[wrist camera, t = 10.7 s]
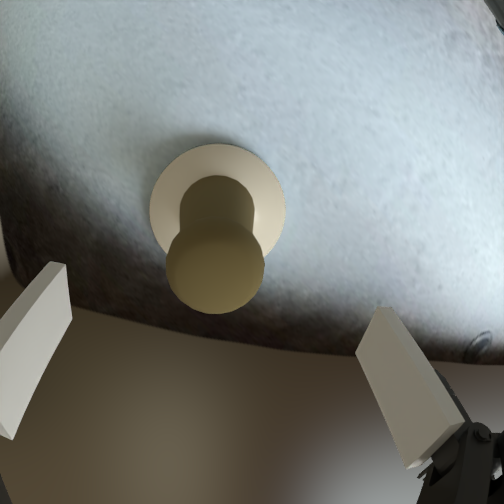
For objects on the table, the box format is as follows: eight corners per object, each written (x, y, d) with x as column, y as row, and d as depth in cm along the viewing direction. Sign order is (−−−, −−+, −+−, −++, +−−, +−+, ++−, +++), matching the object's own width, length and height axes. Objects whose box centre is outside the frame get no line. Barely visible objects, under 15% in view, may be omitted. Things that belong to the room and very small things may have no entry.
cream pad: (161, 134, 23) (157, 136, 22) (295, 156, 25) (299, 159, 24) (148, 258, 28) (145, 265, 26) (267, 274, 30) (269, 282, 28)
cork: (270, 216, 26) (301, 286, 16) (213, 260, 27) (211, 349, 17) (221, 159, 23) (220, 195, 13) (163, 209, 25) (127, 276, 15)
